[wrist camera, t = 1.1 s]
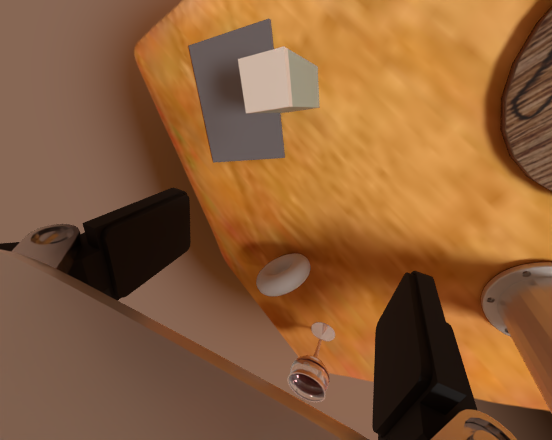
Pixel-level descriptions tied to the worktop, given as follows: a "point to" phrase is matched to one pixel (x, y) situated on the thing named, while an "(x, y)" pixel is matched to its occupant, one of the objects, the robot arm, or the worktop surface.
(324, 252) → the worktop surface
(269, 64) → the sage block
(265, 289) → the donut
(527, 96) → the trivet
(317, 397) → the wineglass
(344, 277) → the worktop surface
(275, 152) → the charcoal mat
